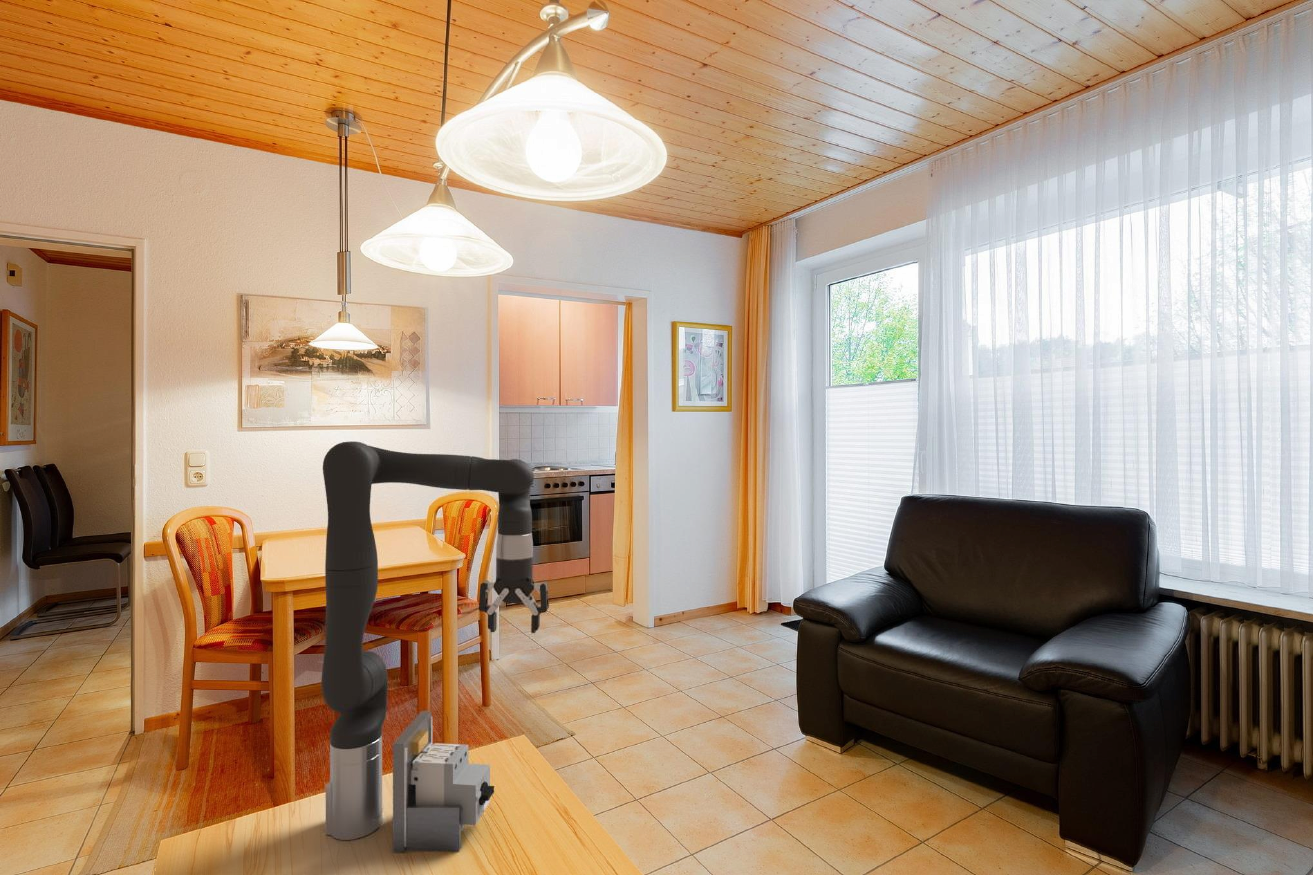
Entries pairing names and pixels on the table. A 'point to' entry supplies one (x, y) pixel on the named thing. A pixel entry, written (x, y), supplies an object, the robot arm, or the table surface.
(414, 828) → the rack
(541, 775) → the table surface
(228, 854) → the table surface
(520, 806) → the table surface
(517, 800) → the table surface
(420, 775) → the circuit breaker
